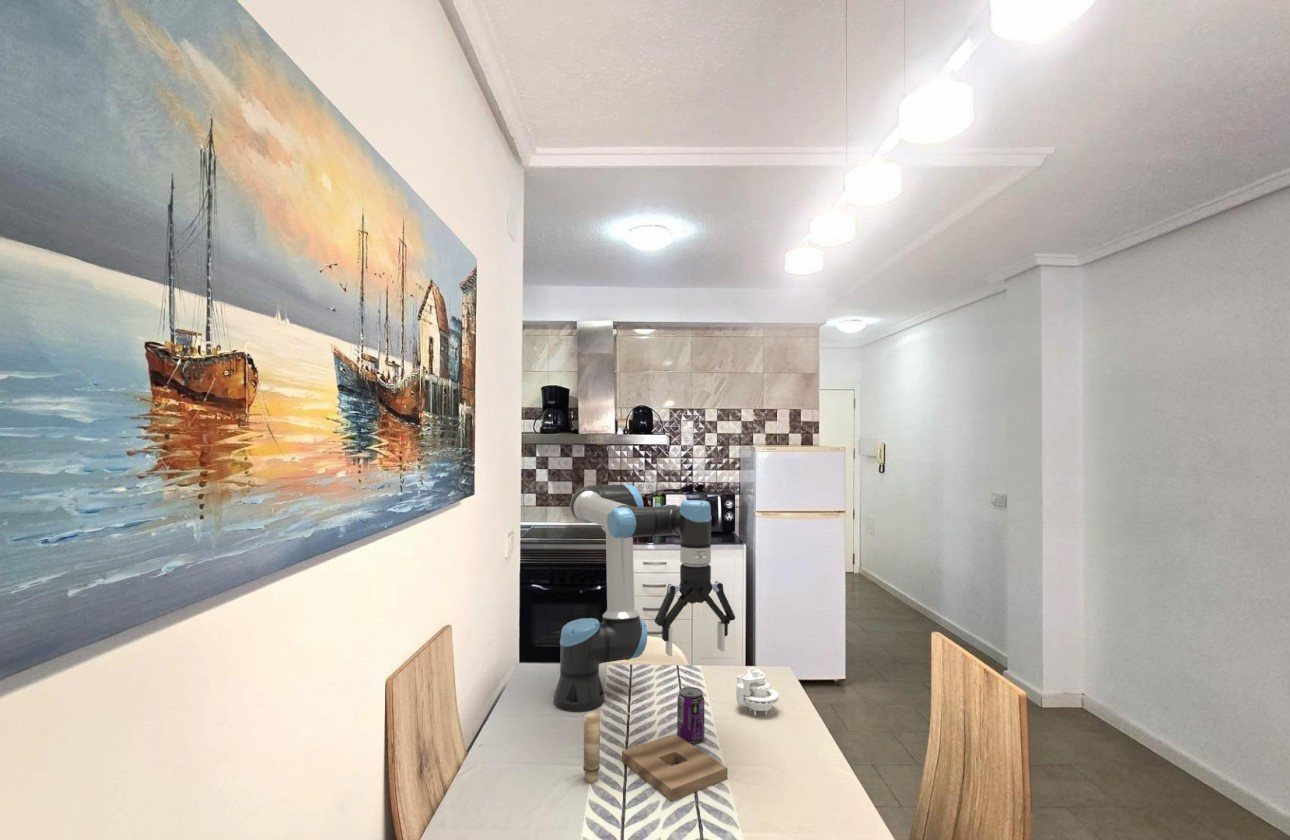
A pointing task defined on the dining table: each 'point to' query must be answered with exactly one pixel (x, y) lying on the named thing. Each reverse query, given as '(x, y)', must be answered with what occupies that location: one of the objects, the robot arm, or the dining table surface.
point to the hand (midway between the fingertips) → (695, 652)
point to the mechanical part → (755, 691)
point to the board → (677, 779)
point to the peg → (591, 747)
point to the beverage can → (690, 714)
